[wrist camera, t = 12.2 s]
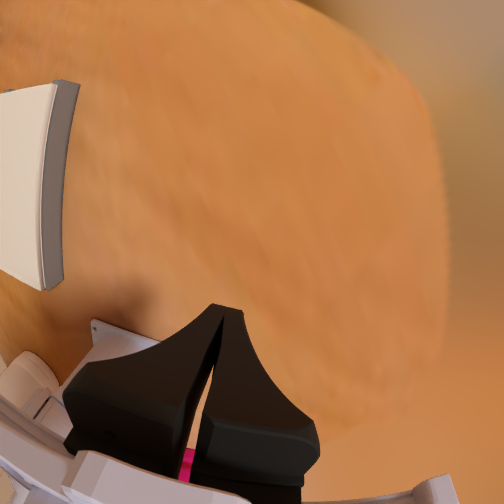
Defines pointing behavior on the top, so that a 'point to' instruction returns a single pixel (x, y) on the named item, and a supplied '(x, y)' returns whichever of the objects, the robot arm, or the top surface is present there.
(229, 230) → the top surface
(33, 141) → the panel
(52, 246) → the cable duct
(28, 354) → the bottle
